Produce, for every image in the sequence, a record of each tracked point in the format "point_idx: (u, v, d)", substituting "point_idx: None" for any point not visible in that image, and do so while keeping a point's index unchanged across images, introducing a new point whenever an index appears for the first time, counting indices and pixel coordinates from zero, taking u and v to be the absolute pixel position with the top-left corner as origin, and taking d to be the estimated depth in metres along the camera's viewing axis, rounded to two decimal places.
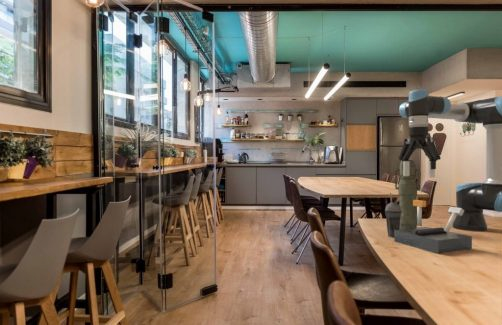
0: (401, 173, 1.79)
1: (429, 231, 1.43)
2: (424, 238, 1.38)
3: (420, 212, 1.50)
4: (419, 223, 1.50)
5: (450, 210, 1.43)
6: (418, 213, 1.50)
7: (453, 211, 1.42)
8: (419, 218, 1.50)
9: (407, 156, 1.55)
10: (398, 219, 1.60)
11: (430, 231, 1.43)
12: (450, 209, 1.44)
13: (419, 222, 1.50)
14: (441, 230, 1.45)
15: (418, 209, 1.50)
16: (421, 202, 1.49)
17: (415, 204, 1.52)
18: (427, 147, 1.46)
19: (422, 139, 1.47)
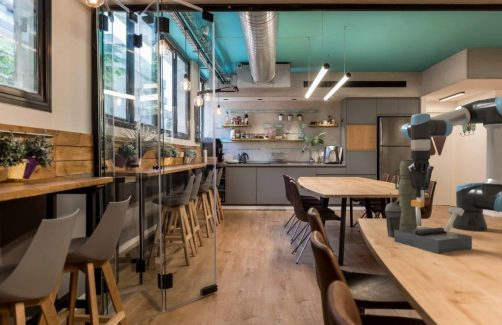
0: (401, 173, 1.79)
1: (429, 231, 1.43)
2: (424, 238, 1.38)
3: (419, 212, 1.50)
4: (418, 223, 1.50)
5: (450, 210, 1.43)
6: (417, 213, 1.50)
7: (453, 211, 1.42)
8: (418, 218, 1.50)
9: None
10: (398, 219, 1.60)
11: (430, 231, 1.43)
12: (450, 209, 1.44)
13: (418, 222, 1.50)
14: (441, 230, 1.45)
15: (416, 209, 1.50)
16: (419, 202, 1.48)
17: (413, 204, 1.51)
18: (418, 174, 1.50)
19: None
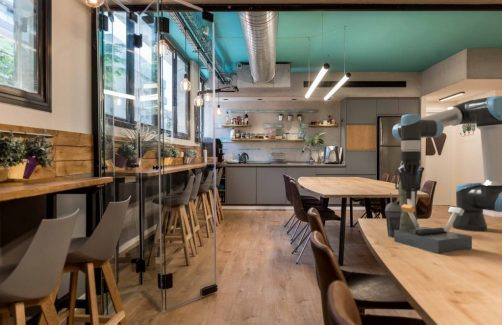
0: None
1: (429, 231, 1.43)
2: (424, 238, 1.38)
3: (413, 216, 1.49)
4: (416, 225, 1.50)
5: (450, 210, 1.43)
6: (411, 217, 1.49)
7: (453, 211, 1.42)
8: (414, 221, 1.49)
9: None
10: (398, 219, 1.60)
11: (430, 231, 1.43)
12: (450, 209, 1.44)
13: (416, 224, 1.50)
14: (441, 230, 1.45)
15: (409, 214, 1.49)
16: (409, 209, 1.46)
17: (405, 210, 1.50)
18: (408, 175, 1.48)
19: None
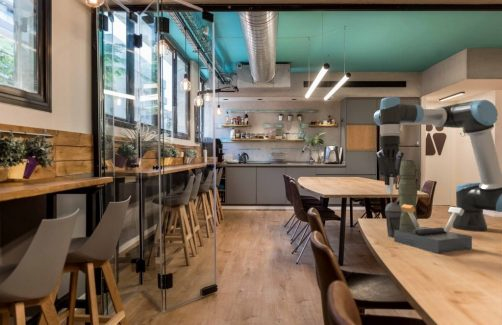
0: (401, 173, 1.79)
1: (429, 231, 1.43)
2: (424, 238, 1.38)
3: (412, 216, 1.49)
4: (416, 225, 1.50)
5: (450, 210, 1.43)
6: (411, 217, 1.49)
7: (453, 211, 1.42)
8: (414, 221, 1.49)
9: None
10: (398, 219, 1.60)
11: (430, 231, 1.43)
12: (450, 209, 1.44)
13: (416, 224, 1.50)
14: (441, 230, 1.45)
15: (409, 214, 1.49)
16: (409, 209, 1.46)
17: (405, 210, 1.50)
18: (387, 160, 1.44)
19: None
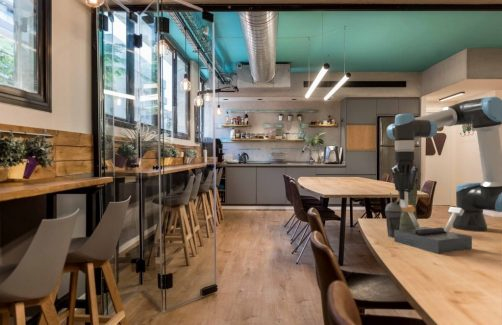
0: (401, 173, 1.79)
1: (429, 231, 1.43)
2: (424, 238, 1.38)
3: (413, 216, 1.49)
4: (416, 225, 1.50)
5: (450, 210, 1.43)
6: (411, 217, 1.49)
7: (453, 211, 1.42)
8: (414, 221, 1.49)
9: None
10: (398, 219, 1.60)
11: (430, 231, 1.43)
12: (450, 209, 1.44)
13: (416, 224, 1.50)
14: (441, 230, 1.45)
15: (409, 214, 1.49)
16: (409, 209, 1.46)
17: (405, 210, 1.50)
18: (402, 175, 1.47)
19: None
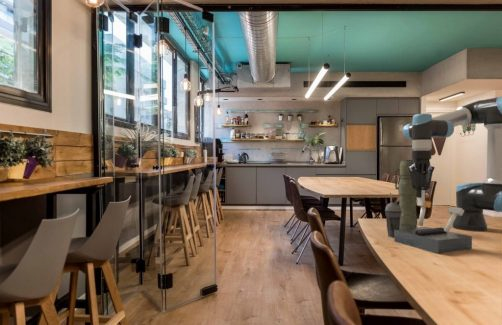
0: (401, 173, 1.79)
1: (429, 231, 1.43)
2: (424, 238, 1.38)
3: (423, 212, 1.51)
4: (420, 223, 1.50)
5: (450, 210, 1.43)
6: (421, 213, 1.51)
7: (453, 211, 1.42)
8: (421, 218, 1.51)
9: None
10: (398, 219, 1.60)
11: (430, 231, 1.43)
12: (450, 209, 1.44)
13: (420, 222, 1.51)
14: (441, 230, 1.45)
15: (422, 209, 1.51)
16: (426, 202, 1.50)
17: None
18: (419, 174, 1.50)
19: None
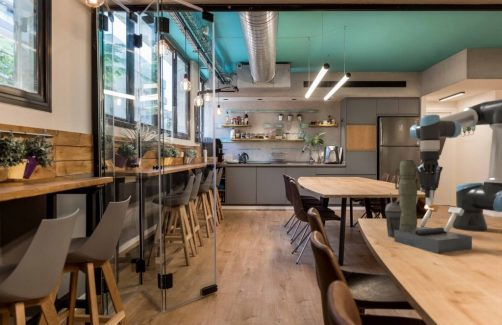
0: (401, 173, 1.79)
1: (429, 231, 1.43)
2: (424, 238, 1.38)
3: (428, 215, 1.52)
4: (422, 223, 1.51)
5: (450, 210, 1.43)
6: (426, 215, 1.52)
7: (453, 211, 1.42)
8: (425, 219, 1.51)
9: None
10: (398, 219, 1.60)
11: (430, 231, 1.43)
12: (450, 209, 1.44)
13: (423, 222, 1.51)
14: (441, 230, 1.45)
15: (428, 211, 1.52)
16: (434, 205, 1.51)
17: (427, 207, 1.54)
18: (427, 174, 1.52)
19: None
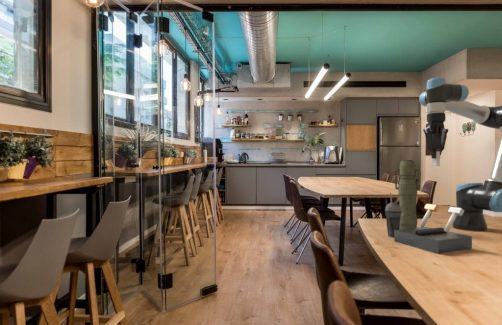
0: (401, 173, 1.79)
1: (429, 231, 1.43)
2: (424, 238, 1.38)
3: (428, 215, 1.52)
4: (422, 223, 1.51)
5: (450, 210, 1.43)
6: (426, 215, 1.52)
7: (453, 211, 1.42)
8: (425, 219, 1.51)
9: None
10: (398, 219, 1.60)
11: (430, 231, 1.43)
12: (450, 209, 1.44)
13: (423, 222, 1.51)
14: (441, 230, 1.45)
15: (428, 211, 1.52)
16: (434, 205, 1.51)
17: (427, 207, 1.54)
18: (433, 135, 1.57)
19: None
